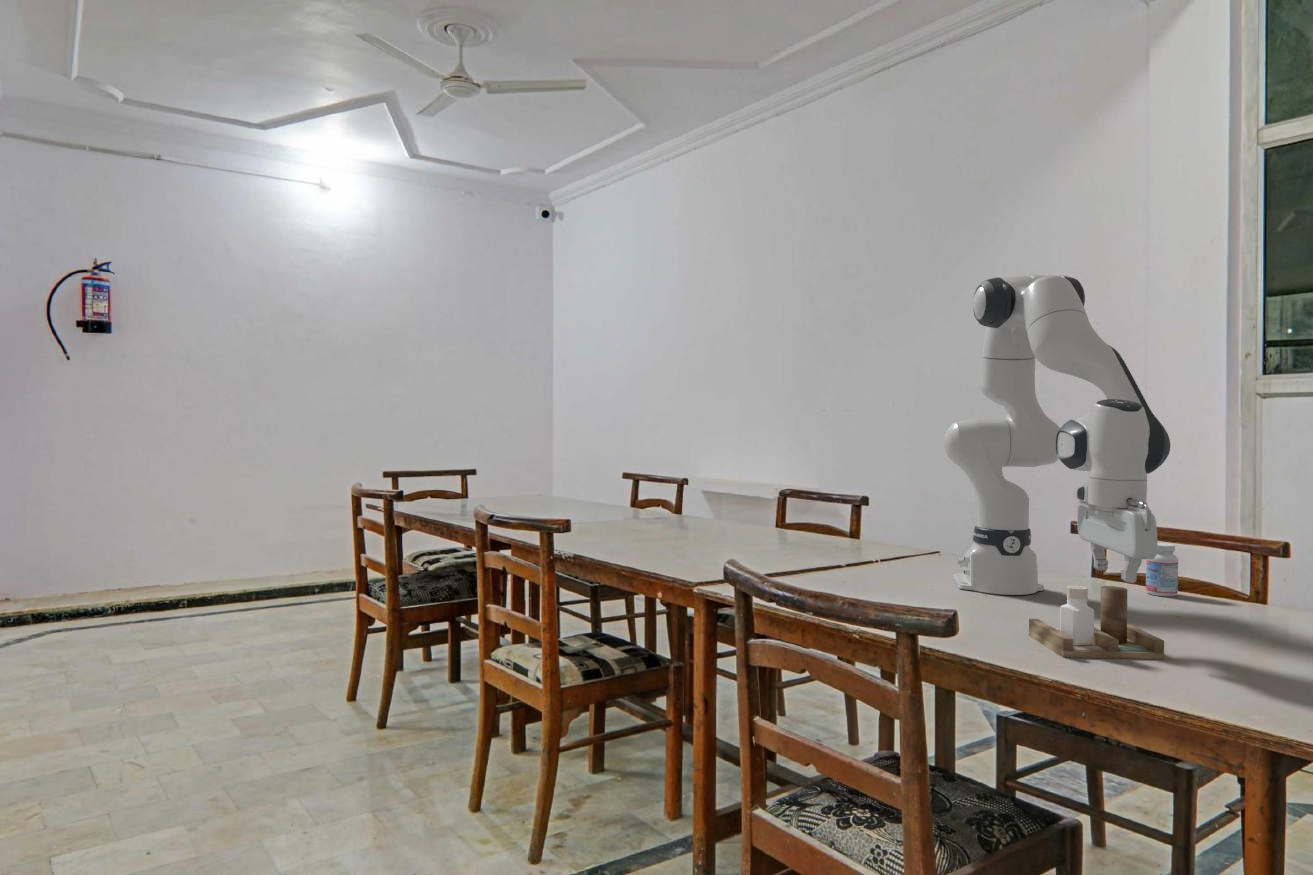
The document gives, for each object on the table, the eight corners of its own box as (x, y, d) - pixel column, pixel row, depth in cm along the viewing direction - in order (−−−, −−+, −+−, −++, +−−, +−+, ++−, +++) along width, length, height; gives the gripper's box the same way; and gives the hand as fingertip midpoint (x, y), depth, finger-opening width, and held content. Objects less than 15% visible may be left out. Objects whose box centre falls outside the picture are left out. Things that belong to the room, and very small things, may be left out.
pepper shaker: (1057, 640, 143) (1058, 585, 143) (1077, 639, 144) (1078, 584, 144) (1075, 647, 139) (1076, 590, 139) (1095, 645, 140) (1096, 588, 140)
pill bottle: (1140, 591, 190) (1141, 541, 190) (1169, 592, 189) (1170, 542, 189) (1152, 596, 184) (1153, 545, 184) (1182, 597, 183) (1183, 546, 183)
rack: (1028, 635, 151) (1029, 618, 151) (1119, 636, 150) (1120, 619, 150) (1063, 657, 137) (1063, 638, 137) (1163, 658, 136) (1164, 640, 136)
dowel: (1119, 637, 145) (1120, 585, 145) (1131, 643, 141) (1132, 590, 141) (1096, 637, 145) (1096, 585, 145) (1107, 643, 141) (1107, 590, 141)
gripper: (1170, 503, 132) (1167, 589, 133) (1106, 488, 153) (1104, 563, 153) (1129, 502, 133) (1126, 589, 133) (1071, 488, 153) (1068, 563, 154)
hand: (1114, 575), depth 143 cm, fingers open, 8 cm apart
